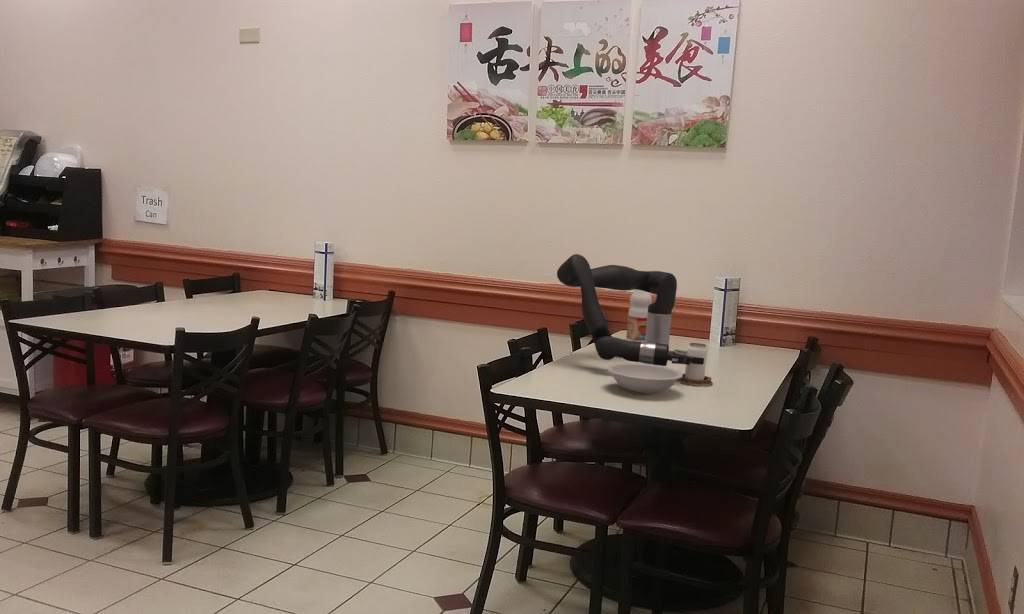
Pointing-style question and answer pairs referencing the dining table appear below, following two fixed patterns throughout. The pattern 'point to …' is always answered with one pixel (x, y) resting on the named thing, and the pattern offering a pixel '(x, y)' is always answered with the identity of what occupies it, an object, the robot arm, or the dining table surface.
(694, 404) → the dining table surface
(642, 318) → the fruit juice
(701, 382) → the octagonal wooden coaster
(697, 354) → the can
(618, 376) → the soup bowl
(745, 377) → the dining table surface
